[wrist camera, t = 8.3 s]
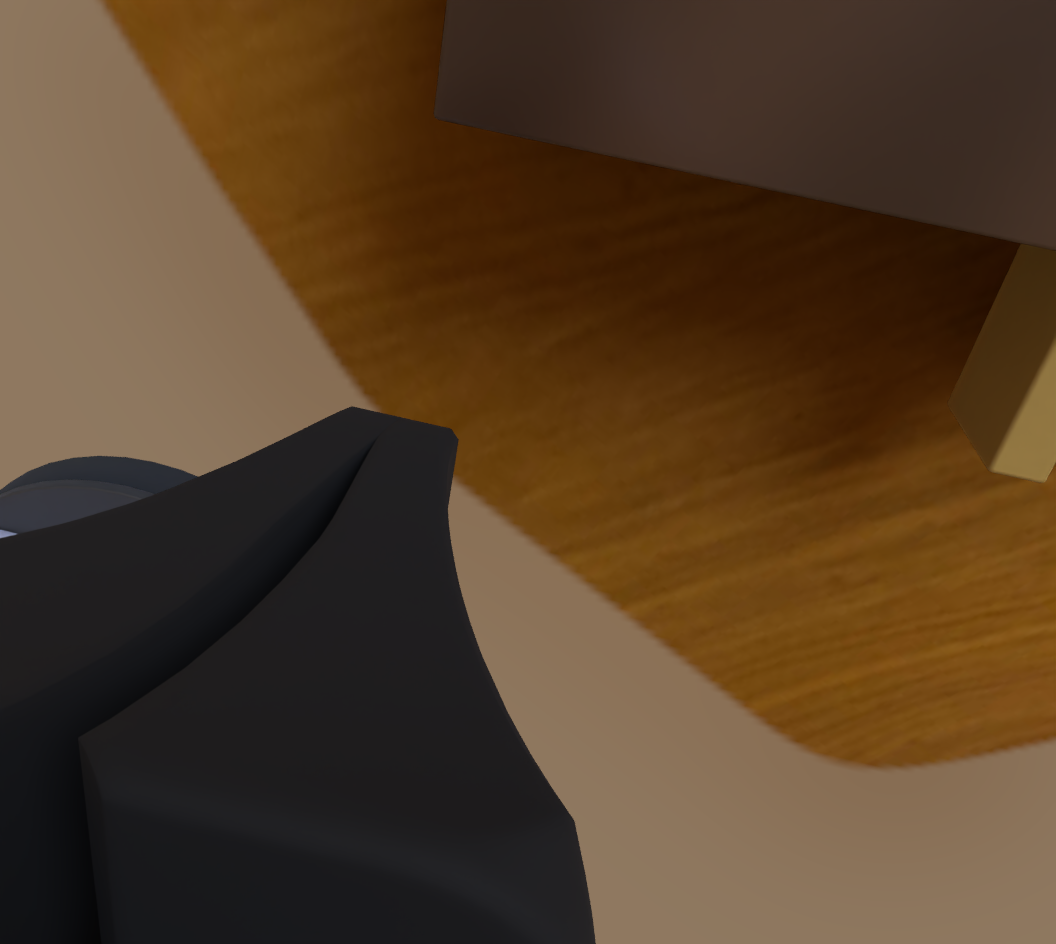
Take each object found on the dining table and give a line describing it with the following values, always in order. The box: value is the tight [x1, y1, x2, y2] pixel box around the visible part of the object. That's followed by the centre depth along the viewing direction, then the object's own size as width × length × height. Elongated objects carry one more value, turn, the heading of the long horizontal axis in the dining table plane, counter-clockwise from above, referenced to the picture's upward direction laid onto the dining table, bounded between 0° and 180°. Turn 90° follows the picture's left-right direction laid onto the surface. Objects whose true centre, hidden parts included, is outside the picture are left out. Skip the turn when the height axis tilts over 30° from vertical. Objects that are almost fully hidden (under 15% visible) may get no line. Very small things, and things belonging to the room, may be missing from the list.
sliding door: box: [948, 244, 1056, 483], centre depth 16 cm, size 7×5×4 cm
